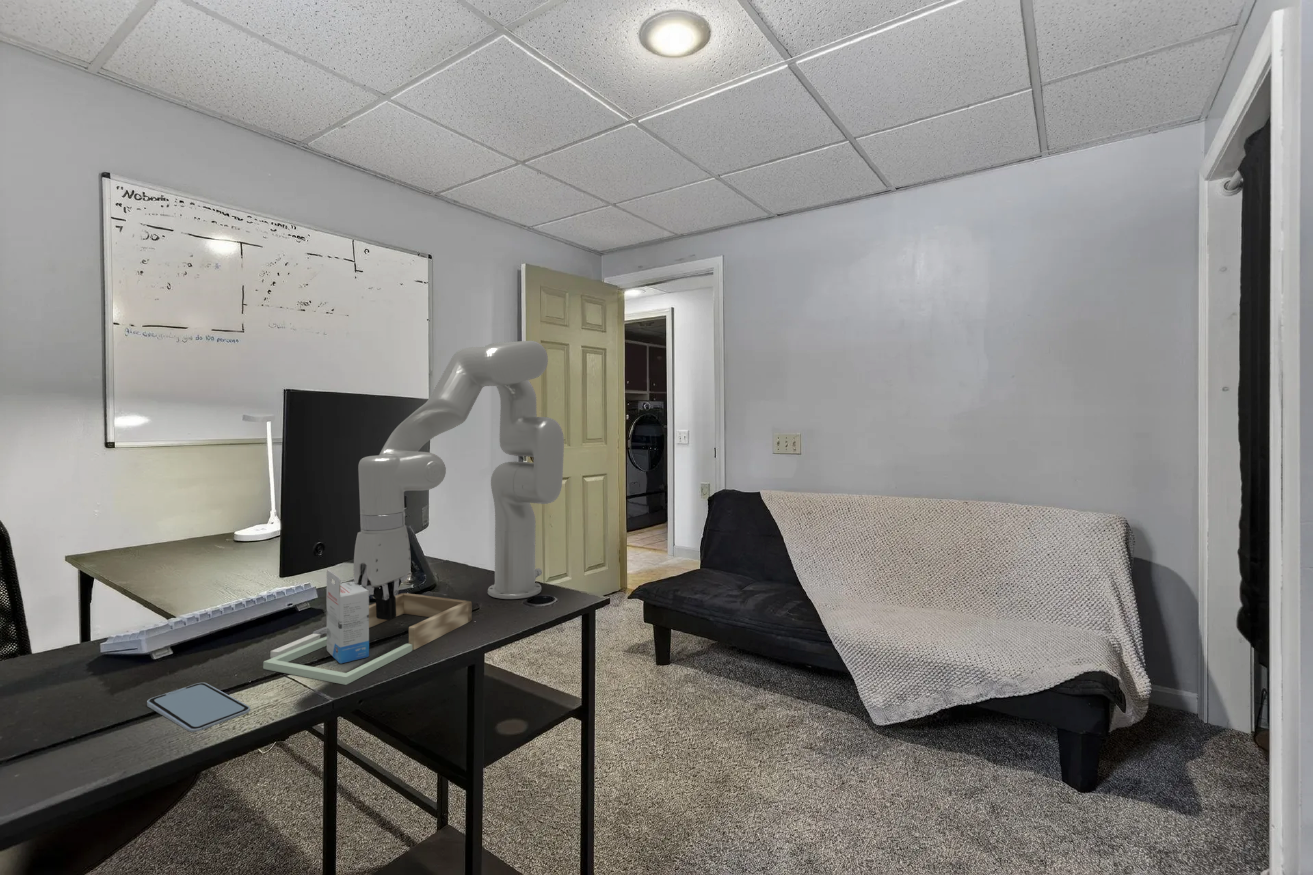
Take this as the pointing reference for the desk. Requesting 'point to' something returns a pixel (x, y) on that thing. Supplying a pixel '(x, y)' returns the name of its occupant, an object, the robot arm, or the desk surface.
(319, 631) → the crook tool
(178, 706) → the smartphone
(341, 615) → the ink box
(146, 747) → the desk surface
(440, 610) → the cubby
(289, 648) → the stick
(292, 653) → the frame
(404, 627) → the desk surface
